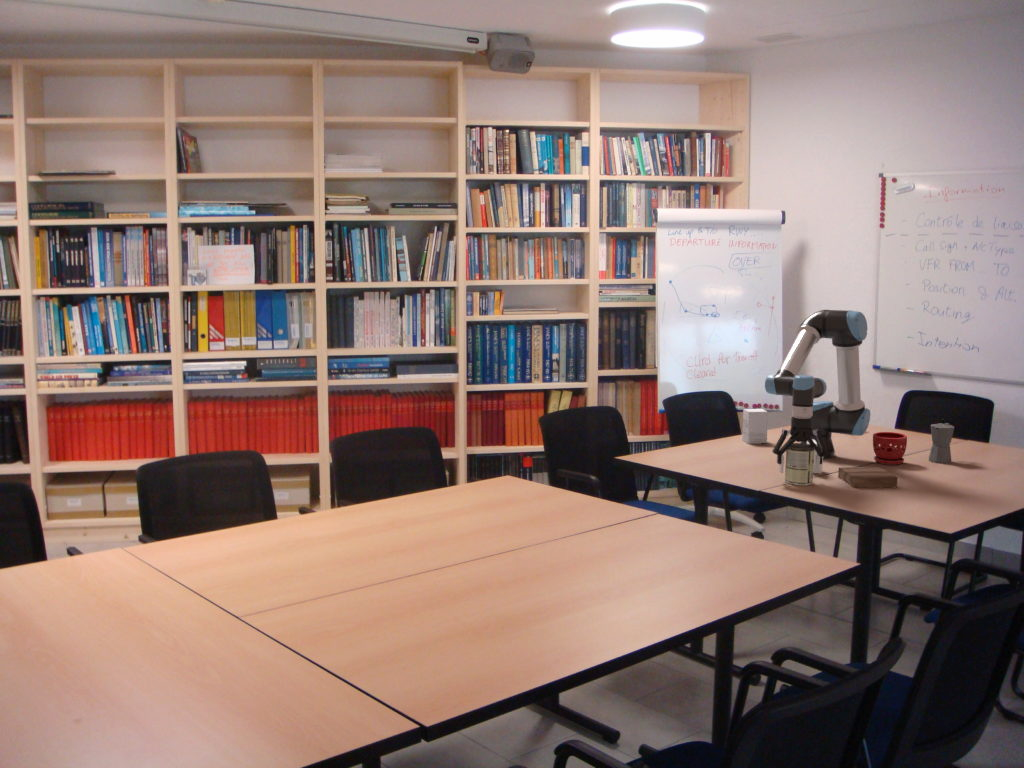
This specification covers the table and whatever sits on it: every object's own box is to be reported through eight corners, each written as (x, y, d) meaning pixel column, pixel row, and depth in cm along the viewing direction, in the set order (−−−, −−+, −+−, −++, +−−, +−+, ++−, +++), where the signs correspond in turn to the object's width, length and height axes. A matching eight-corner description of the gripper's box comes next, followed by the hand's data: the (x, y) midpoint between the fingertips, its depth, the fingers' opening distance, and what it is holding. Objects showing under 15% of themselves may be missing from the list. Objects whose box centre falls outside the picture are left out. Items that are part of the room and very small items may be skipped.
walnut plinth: (838, 477, 361) (838, 467, 360) (879, 477, 361) (879, 467, 360) (854, 487, 345) (854, 477, 344) (896, 487, 345) (897, 477, 345)
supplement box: (760, 440, 434) (762, 408, 432) (767, 443, 425) (768, 411, 423) (741, 440, 434) (742, 408, 432) (747, 444, 425) (749, 411, 423)
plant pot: (870, 458, 396) (872, 430, 395) (904, 460, 392) (906, 432, 390) (871, 464, 384) (873, 436, 382) (906, 467, 380) (908, 438, 378)
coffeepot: (946, 465, 384) (949, 422, 381) (922, 462, 390) (925, 419, 388) (958, 459, 395) (961, 417, 392) (935, 456, 401) (938, 415, 399)
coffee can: (782, 478, 358) (783, 442, 356) (809, 479, 357) (811, 443, 355) (787, 485, 348) (789, 448, 346) (815, 486, 347) (817, 448, 345)
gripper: (771, 418, 345) (769, 474, 348) (838, 418, 345) (835, 474, 348) (765, 415, 352) (763, 470, 355) (831, 415, 353) (828, 470, 356)
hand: (799, 472), depth 352 cm, fingers open, 13 cm apart
